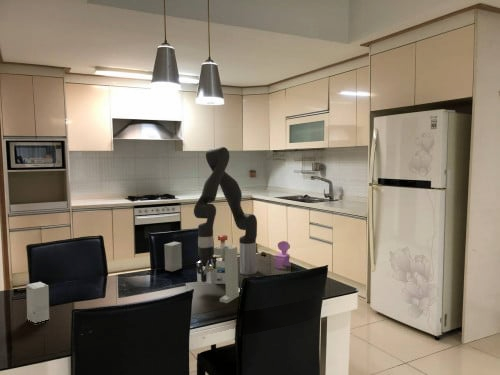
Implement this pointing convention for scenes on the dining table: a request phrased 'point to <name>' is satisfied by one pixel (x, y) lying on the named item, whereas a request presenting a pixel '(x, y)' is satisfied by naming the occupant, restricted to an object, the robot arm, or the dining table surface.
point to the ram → (222, 261)
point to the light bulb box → (220, 275)
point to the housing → (209, 275)
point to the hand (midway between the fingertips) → (207, 280)
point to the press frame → (229, 272)
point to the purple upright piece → (282, 255)
